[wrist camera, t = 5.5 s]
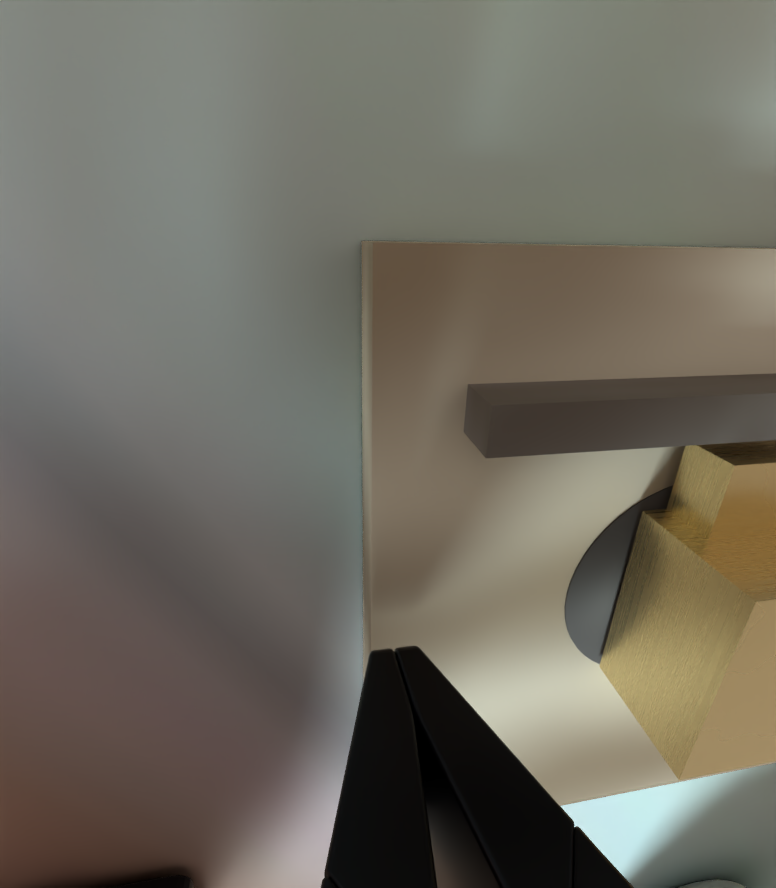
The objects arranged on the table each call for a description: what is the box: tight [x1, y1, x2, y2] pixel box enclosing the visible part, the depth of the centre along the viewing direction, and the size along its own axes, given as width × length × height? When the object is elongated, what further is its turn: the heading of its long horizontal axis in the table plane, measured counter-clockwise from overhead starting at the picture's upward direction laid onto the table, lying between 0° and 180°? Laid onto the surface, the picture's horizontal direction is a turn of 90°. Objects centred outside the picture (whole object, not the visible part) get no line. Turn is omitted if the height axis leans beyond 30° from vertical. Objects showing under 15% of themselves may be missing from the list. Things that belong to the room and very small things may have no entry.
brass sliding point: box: [599, 440, 776, 780], centre depth 8 cm, size 5×3×2 cm, turn 179°
